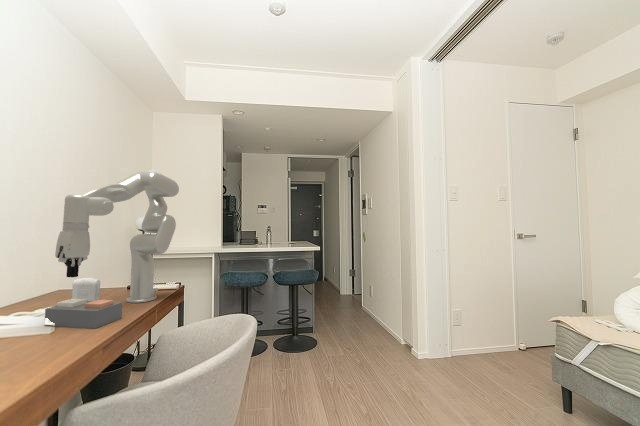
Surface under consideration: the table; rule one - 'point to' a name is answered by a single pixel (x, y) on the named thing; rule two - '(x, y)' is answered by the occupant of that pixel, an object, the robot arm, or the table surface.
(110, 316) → the block
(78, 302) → the white key
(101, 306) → the terracotta key
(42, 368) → the table surface
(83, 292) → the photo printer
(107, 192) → the robot arm
